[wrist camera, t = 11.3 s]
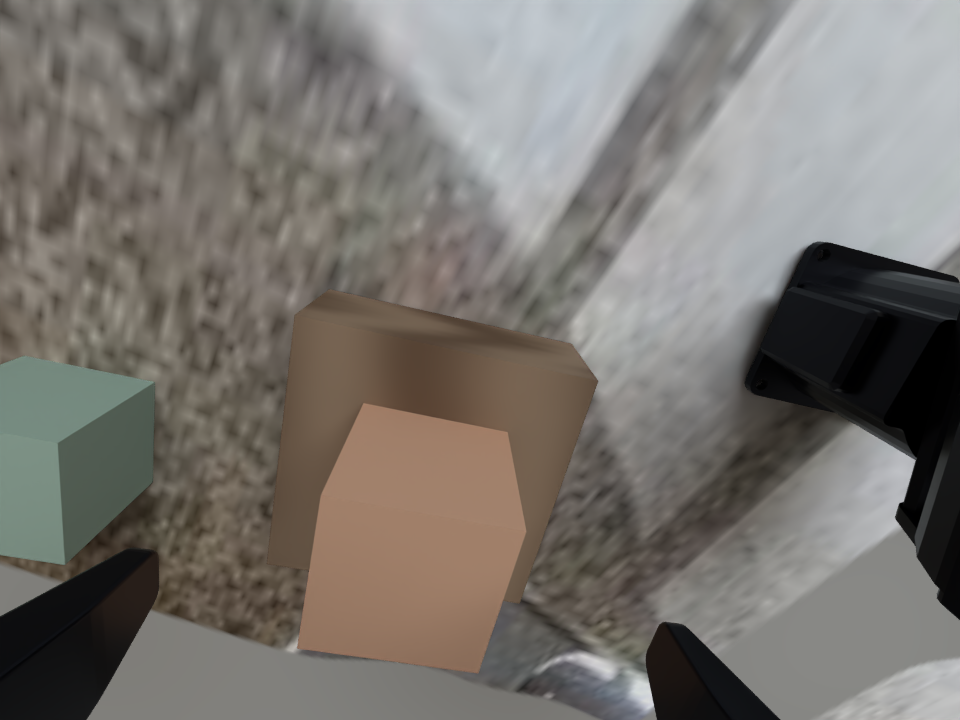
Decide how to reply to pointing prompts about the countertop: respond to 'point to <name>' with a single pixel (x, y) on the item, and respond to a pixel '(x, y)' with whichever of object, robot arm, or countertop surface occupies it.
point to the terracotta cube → (413, 542)
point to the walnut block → (422, 404)
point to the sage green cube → (69, 454)
